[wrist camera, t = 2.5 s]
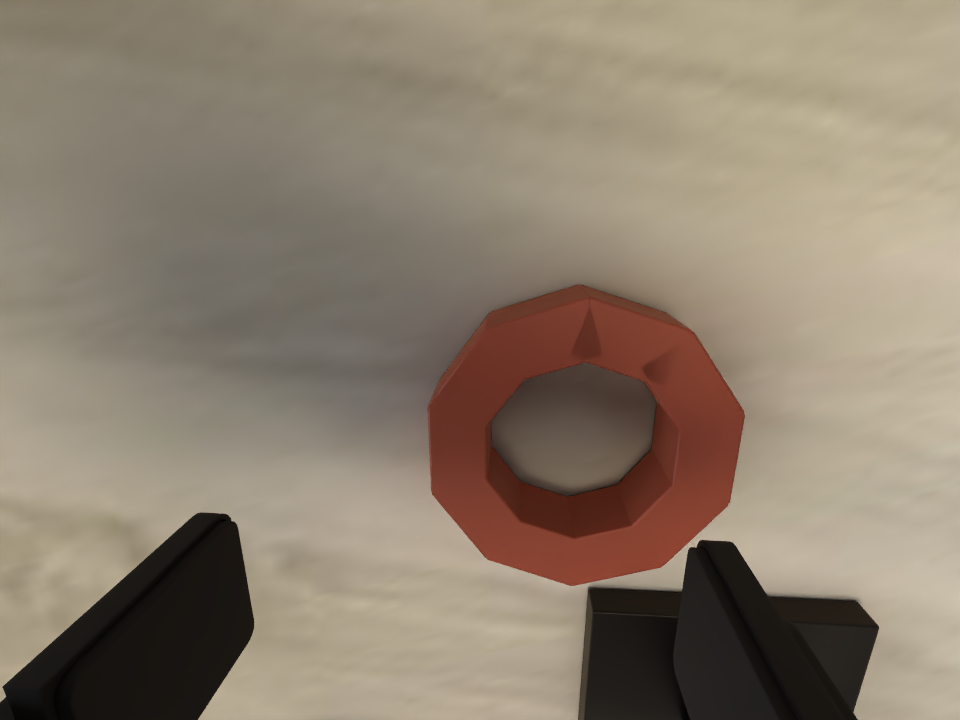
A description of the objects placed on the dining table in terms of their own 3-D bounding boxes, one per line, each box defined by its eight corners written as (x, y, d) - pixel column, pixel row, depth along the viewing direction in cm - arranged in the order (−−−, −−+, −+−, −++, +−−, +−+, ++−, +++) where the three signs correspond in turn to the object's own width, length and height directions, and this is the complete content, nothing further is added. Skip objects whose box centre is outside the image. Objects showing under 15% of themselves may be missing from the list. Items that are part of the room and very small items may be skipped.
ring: (436, 283, 16) (422, 296, 13) (728, 285, 15) (766, 298, 13) (444, 533, 18) (434, 579, 16) (689, 544, 18) (715, 593, 15)
